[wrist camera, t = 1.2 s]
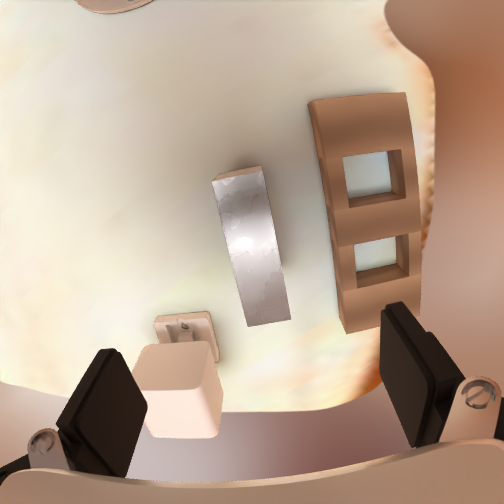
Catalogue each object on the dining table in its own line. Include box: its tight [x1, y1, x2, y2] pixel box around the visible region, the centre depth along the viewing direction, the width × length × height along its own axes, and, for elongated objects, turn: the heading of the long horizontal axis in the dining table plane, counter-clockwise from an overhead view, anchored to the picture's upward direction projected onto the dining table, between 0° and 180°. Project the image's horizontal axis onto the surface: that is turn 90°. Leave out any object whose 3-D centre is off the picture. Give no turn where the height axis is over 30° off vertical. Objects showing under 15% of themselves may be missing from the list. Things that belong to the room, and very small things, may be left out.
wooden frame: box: [308, 92, 421, 334], centre depth 26 cm, size 20×8×3 cm, turn 12°
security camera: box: [131, 311, 223, 438], centre depth 27 cm, size 6×7×10 cm
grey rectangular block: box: [212, 165, 291, 327], centre depth 24 cm, size 10×3×8 cm, turn 12°
